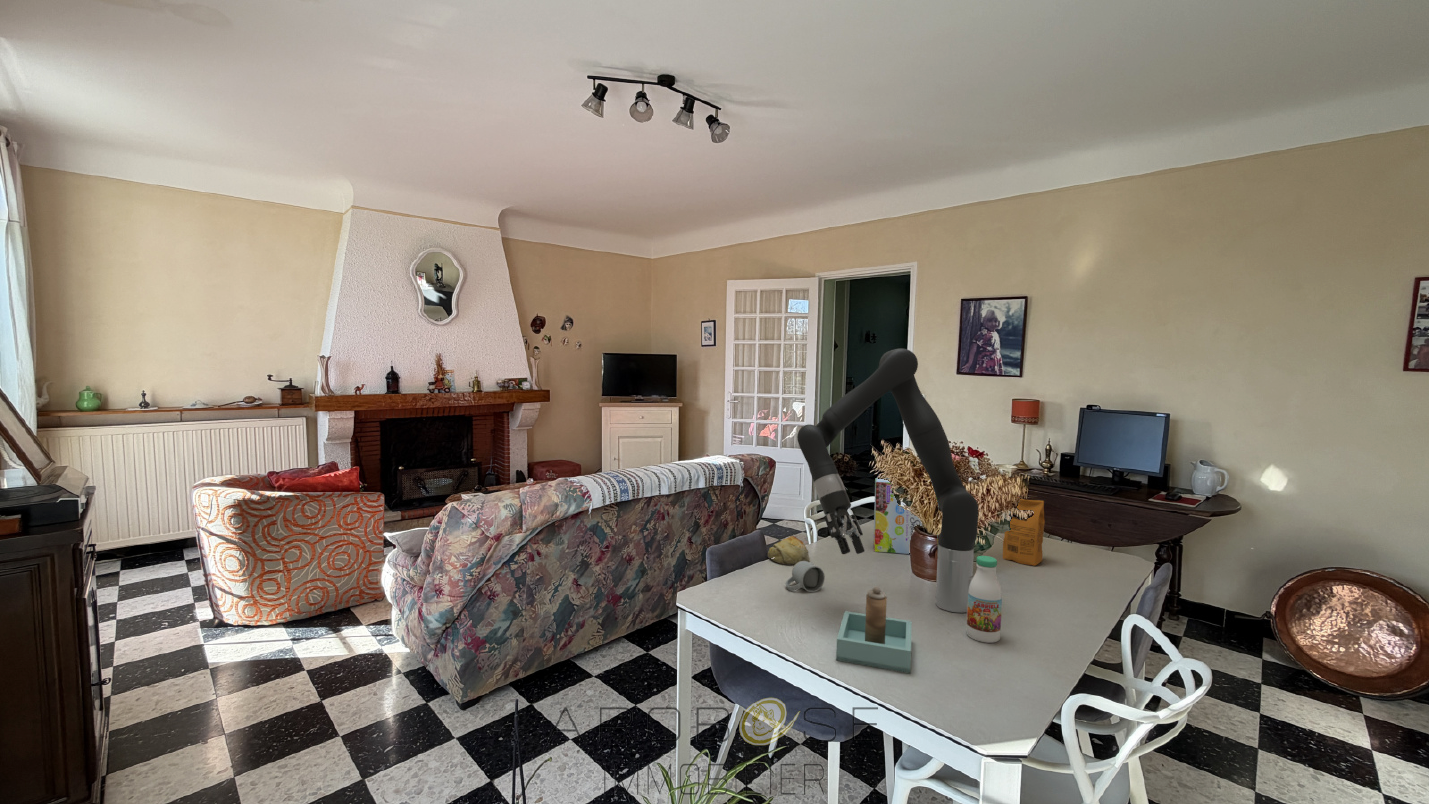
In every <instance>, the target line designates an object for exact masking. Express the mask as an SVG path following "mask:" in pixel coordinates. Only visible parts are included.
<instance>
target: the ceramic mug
mask: <svg viewBox="0 0 1429 804" xmlns="http://www.w3.org/2000/svg"><path fill="white" fill-rule="evenodd" d="M825 577H826V576H825V572H824V570H823V569H822V568H821V567H820V566H818V565H816V564H814V563H811V562H807V561H800V562H798V563H796V564H794V565H793V567H792V570H791V577H789V578H788V579H786V581H785V583H784V584H785V587H786V589H787V590H788V591H789V592H795V591H798V590H799V589H803V590H805V591H806V592H809V593H815V592H817V591H819V590H821V589H822V587H823V586H824V583H825V580H826V579H825ZM794 582H795V583H796V584H793V585H790V584H792V583H794Z"/></svg>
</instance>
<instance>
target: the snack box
mask: <svg viewBox="0 0 1429 804" xmlns="http://www.w3.org/2000/svg"><path fill="white" fill-rule="evenodd" d="M884 479H885V478H884ZM884 479H878V477H876V478H875V480H874V483H875V484H874V511H873V512H874V513H873V514H874V515H873V518H874V519H873V522H874V523H873V524H874V525H873V549H874V550H873V551H874V552H875V553H877V552H878V553H892V554H906V555H910V554H909V544H910V540H911V535H912V533H913V530H914V527H915V526H917V525H920V526H922V523H921V521H920V519H919V518H918V517H917V516H915V515H913V514H911V512H910V511H908V510H904V509H903V508H902V507H900V506H898V503H897V500H896V498H895V496H894V494H893V493H892V490H891V488H892V486H891V483H890V482H889V481H888V480H884Z"/></svg>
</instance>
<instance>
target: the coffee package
mask: <svg viewBox="0 0 1429 804" xmlns="http://www.w3.org/2000/svg"><path fill="white" fill-rule="evenodd" d="M1044 505H1045V501H1044V500H1038V499H1037V500H1036V499H1023V498H1021V499H1020V502H1019V503H1018V506H1017V508H1018V509H1019V510H1033V511H1034V515H1033V516H1032V517H1030V518H1028V519H1022V520H1020V519H1018V518H1017V517H1012V519H1011V521H1010V528H1011V530H1010V531H1006V532H1005V531H1004V537H1003V539H1002V559H1003V560H1008V561H1013V562H1016V563H1018V564H1021V565H1027V566H1037V565H1038V564H1040V563H1041V562H1042V561H1043V543H1044V532H1045V531H1044V530H1045V523H1046V522H1045V509H1044V508H1045V506H1044Z"/></svg>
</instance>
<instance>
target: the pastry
mask: <svg viewBox="0 0 1429 804" xmlns="http://www.w3.org/2000/svg"><path fill="white" fill-rule="evenodd" d="M767 557H768V558H769V559H770V558H773V557H775V558H774V559H770V560H771V561H773V562H775V563H777V564H782V565H795V564H796V563H798V562H800V561H807V562H809V561H811V559H810V556H809V549H808V548H807V547H806V544H805V543H804V542H803V540H801V539H799V538H798V537H797V536H795V535H792V536H791V535H790V536H789V537H786V538H784V539H782V540H780V541H778V542H776V543H774V544H773V546H772V547H769V549H768V552H767Z"/></svg>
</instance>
